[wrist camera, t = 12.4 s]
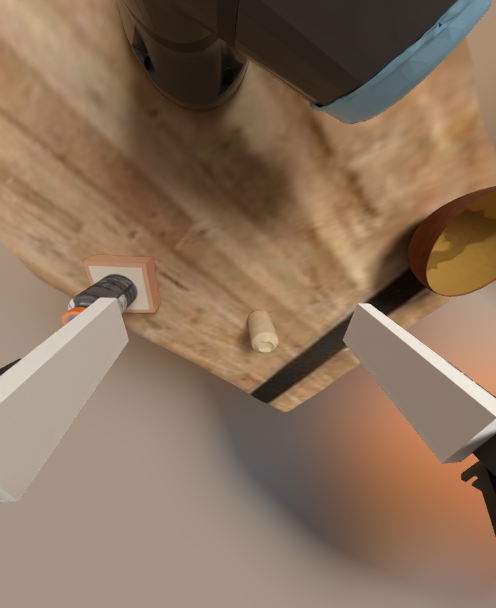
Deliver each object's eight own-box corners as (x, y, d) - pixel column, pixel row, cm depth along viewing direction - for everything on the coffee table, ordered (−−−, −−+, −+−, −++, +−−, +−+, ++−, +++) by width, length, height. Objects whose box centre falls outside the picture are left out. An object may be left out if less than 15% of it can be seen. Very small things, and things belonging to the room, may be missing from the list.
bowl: (486, 223, 39) (559, 231, 31) (412, 290, 46) (455, 311, 37) (445, 164, 33) (521, 152, 25) (366, 250, 40) (405, 265, 31)
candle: (248, 330, 47) (253, 360, 38) (246, 311, 44) (251, 338, 36) (270, 327, 47) (280, 356, 39) (270, 308, 45) (280, 335, 36)
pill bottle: (94, 284, 34) (39, 320, 24) (118, 266, 33) (71, 296, 23) (122, 308, 36) (83, 349, 27) (145, 292, 35) (113, 329, 25)
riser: (96, 254, 35) (81, 261, 32) (153, 257, 36) (144, 263, 33) (111, 302, 40) (99, 312, 36) (160, 303, 41) (154, 313, 38)
